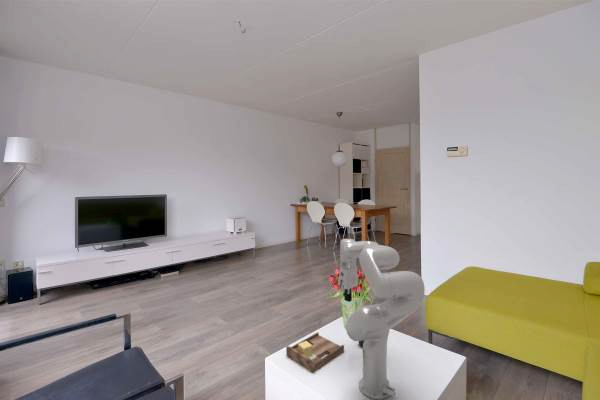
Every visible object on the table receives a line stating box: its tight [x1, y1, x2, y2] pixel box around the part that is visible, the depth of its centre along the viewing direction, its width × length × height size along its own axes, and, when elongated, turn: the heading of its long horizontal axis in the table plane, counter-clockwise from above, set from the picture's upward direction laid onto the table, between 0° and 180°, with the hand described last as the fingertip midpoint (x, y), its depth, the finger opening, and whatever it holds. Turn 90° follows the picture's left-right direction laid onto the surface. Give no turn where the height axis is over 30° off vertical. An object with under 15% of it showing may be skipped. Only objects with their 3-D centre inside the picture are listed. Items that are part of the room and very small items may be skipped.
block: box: [297, 341, 312, 357], centre depth 136 cm, size 5×5×5 cm
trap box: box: [285, 331, 345, 374], centre depth 140 cm, size 18×23×5 cm
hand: (348, 300), depth 138 cm, fingers closed
